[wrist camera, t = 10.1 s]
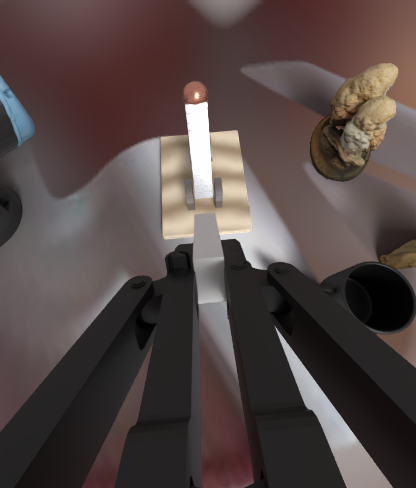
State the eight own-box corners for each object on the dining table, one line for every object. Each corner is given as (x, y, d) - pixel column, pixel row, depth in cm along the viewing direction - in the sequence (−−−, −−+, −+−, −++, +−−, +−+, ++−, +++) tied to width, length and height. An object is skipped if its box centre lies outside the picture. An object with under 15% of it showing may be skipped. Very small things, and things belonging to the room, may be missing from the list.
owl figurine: (367, 192, 46) (447, 121, 30) (305, 182, 48) (350, 109, 31) (368, 120, 52) (435, 27, 36) (312, 113, 53) (353, 21, 37)
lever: (215, 197, 41) (207, 79, 31) (194, 199, 41) (180, 82, 31) (213, 190, 44) (206, 80, 34) (194, 192, 44) (181, 82, 34)
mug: (303, 265, 42) (325, 250, 33) (374, 281, 41) (416, 269, 32) (296, 320, 39) (319, 318, 31) (373, 339, 38) (418, 343, 29)
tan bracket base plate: (250, 231, 44) (257, 214, 37) (165, 239, 44) (155, 223, 37) (236, 137, 51) (239, 107, 44) (162, 144, 52) (154, 115, 44)
